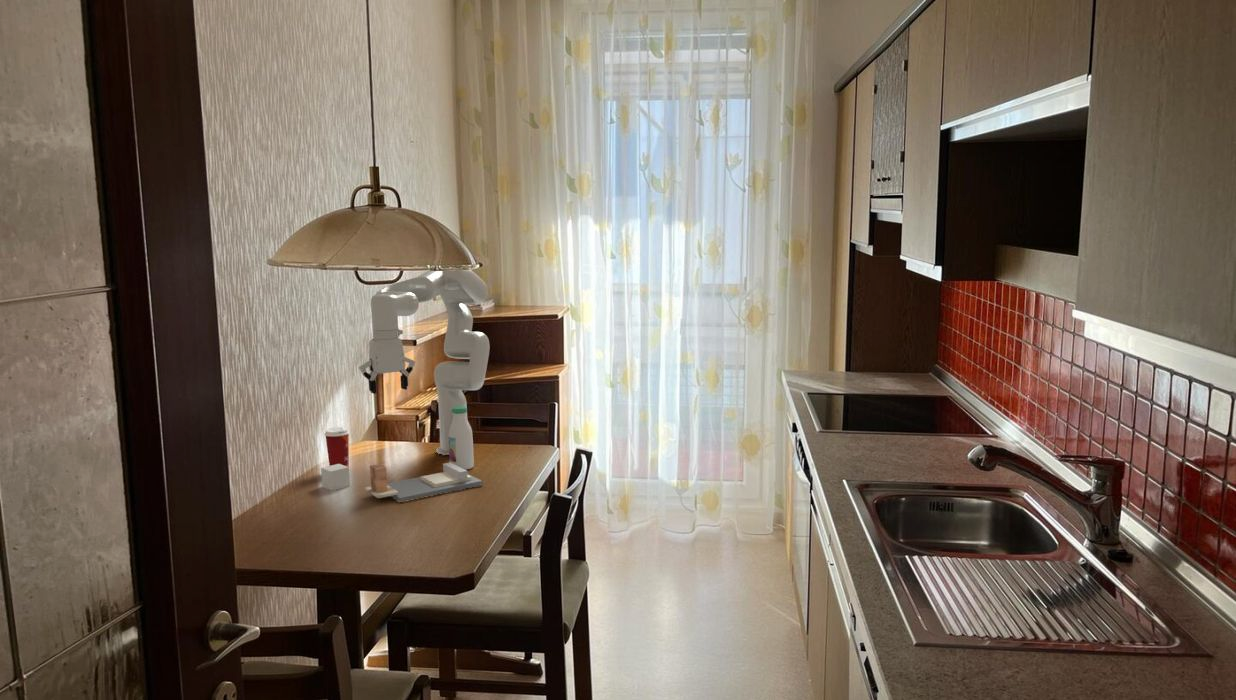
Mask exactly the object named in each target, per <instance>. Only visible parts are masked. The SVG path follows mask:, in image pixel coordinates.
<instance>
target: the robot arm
mask: <svg viewBox="0 0 1236 700" xmlns="http://www.w3.org/2000/svg"><path fill="white" fill-rule="evenodd" d="M488 292H489V291H488V287H487V284H486V282H485V281H484V280H483V279H482V278H481V277H480V276H478V275H477V273H476V272H474V271H473V270H471V269H470V270H455V271H428V270H427V271H425V272H423V273H422V274H420V275H418V276H416V277H412V278H408V279H405V280H402V281H398V282H395V283H392V284H390V285H387V286H385V287H383V288H382V289H380V290H378V291H377V292H376V293H375V294H374V295H373V296H371V298H370V309H371V324H372V325H371V326H372V340H370V341H369V348H368V349H369V350H368V360H367V361H365V362H364V363H362V364H361V365H360V366H359V367H358V369H359V370H360V373H361V374H362V376H363V377H365V379H366V380H368V390H369V392H370V393H371V394H373V395H375V394H377V381H376V380H375V378H377V376H378V375H379V374H381V375H382V374H390V373H397V372H399V373H400V374H401V375H400V378H399V379H400V388H401V389H403V390H408V386H409V379H408V377H409V376H410V374H411V372H412V371H413V370H414V366H415V364H416V361H415V360H413V359H411V358H409V357H406V356H405V352H404V350H405V349H404V345H403V341H402V338H400V336H401V335H403V334H404V331H403V329H399V320H398V319H399V318H398V317H409V316H412V315H414V314H415V313H416V312H418V309H419V306H420V303H425V302H429V301H431V300H433V299H434V298H437V296H440V298H441V300H442V302H443V304H444V306H445V308H446V311H447V315H448V320H447V326H446V330H445V331H446V333H445V336H444V342H443V353H444V354H445V356H447V357H448V358H451V359H458V360H461V359H462V360H463V359H464V360H465V359H466V360H469V361H452V360H449V361H443V362H440V363H438V364H437V365H436V366H435V368H434V371H433V379H434V384H435V386H436V391H437V402H438V403H437V404H438V419H439V421H438V422H439V444H440V446H439V447H436V449H435V453H436V452H437V453H438V454H437V453H436V454H437V455H439V454H442V455H441V456H445V455H449V429H450V426H451V423H452V420H453V414H452V408H453V407H457V406H464V407H466V408H467V409H468V407H467V405H468V403H467V399H466V395H465V394H464V393H463V391H478V390H480V389H482V387H483V385H484V383H485V379H486V373H487V368H488V362H489V356H490V347H491V346H490V340H489V337H488V336H487V335H486V334H485V333H484V332H481V331H472V330H473V325H474V324H473V323H474V317H473V315H472V312H471V311H470V309H469V308H468V306H467V305H480V304H482V303H485V301H486V300H487V298H488V295H489V293H488ZM406 363H408V366H407V367H406ZM367 368H368V370H369V371H370V372H368V371H367ZM466 417H467V418H468V413H467V414H466Z"/></svg>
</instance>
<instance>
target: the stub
mask: <svg viewBox="0 0 1236 700" xmlns="http://www.w3.org/2000/svg"><path fill="white" fill-rule="evenodd" d="M369 474H370V486H366V487H365V488H364V489H365V491H366V492H368V493H369V494H371V495H372V496H374V497H375V498H377V499H383V498H387V497H390V496H392V495H397V494H398V491H396V490H395V489H393V488H392V487H390V486H388V485H387V483H388V476H387V467H386V466H385V465H383V464H381V463H377V464H371V465H369Z"/></svg>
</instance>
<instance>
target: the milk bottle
mask: <svg viewBox="0 0 1236 700" xmlns="http://www.w3.org/2000/svg"><path fill="white" fill-rule="evenodd" d="M452 414H453V420H452V423H451V426H450V429H449V456H448V457H449V458H448V459H449V462H450V463H452V464H454V465H456V466H458V467H461V468H463V469H465V470H467V471H468V470H471V469H472V468H474V466H475V461H474V460H475V459H474V440H473V429H472V427H471V424H470V423H469V420H468V416H467V417H466V414H467V415H468V407H467V408H466V407H464V406H457V407H453V408H452Z"/></svg>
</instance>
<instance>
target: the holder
mask: <svg viewBox="0 0 1236 700" xmlns="http://www.w3.org/2000/svg"><path fill="white" fill-rule="evenodd" d="M442 471H443V472H437V473H432V474H428V475H426V474H425V475H423V476H422V475H421V476H418V477H413V478H409V479H404V480H398V481H393V482H389V483H388V482H387V485H388V486H390V487H392V488H393V489H395V490H396V491H398V494H397V495H392V496H391V498H392V497H393V498H395V499H396V500H398V501H400V502H401V501H406V500H411V499H416V498H421V497H425V496H431V495H436V494H440V493H445V494H447V493H446V492H450V491H455V490H460V489H464V490H466V489H465V488H469V489H473V488H472V487H474V488H477V487H482V486H483V481H482V480H481V479H479V478H478V477H476V476H473V475H471V474H469V473H468V469H467V470H465V469H463V468H461V467H458V466H456V465H454V464H452V463H450V461H449V462H445V463H442ZM470 487H471V488H470ZM460 491H461V490H460ZM455 492H456V491H455ZM450 493H451V492H450ZM436 496H437V495H436ZM431 497H432V496H431ZM393 498H392V499H393ZM395 499H394V500H395ZM396 500H395V501H396ZM398 501H397V502H398Z"/></svg>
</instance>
